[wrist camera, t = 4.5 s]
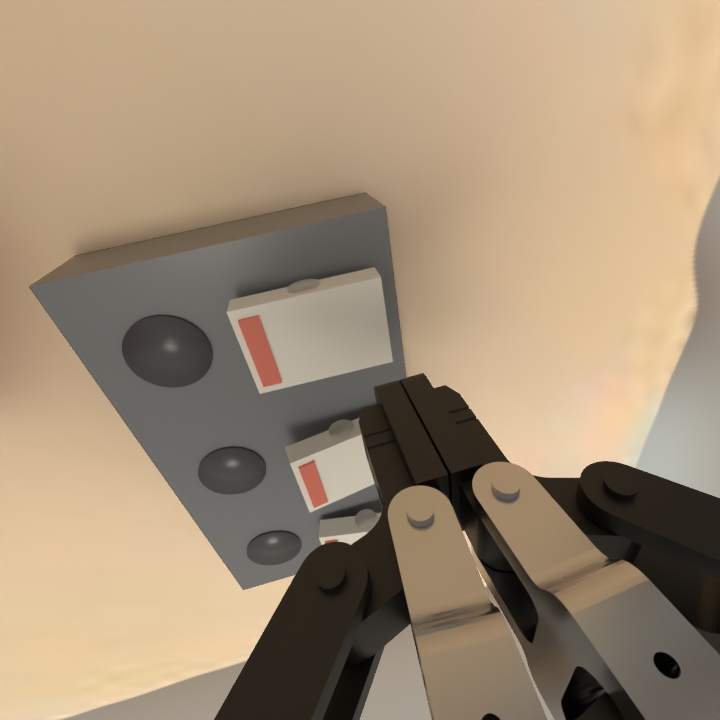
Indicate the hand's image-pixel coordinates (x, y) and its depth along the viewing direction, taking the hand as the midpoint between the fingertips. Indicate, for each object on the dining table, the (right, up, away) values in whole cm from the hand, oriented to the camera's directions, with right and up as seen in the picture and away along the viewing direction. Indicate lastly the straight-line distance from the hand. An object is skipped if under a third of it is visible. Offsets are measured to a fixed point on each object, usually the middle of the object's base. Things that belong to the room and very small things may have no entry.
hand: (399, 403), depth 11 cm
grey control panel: (-6, -2, +13) cm, 15 cm away
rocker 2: (-2, -4, +9) cm, 10 cm away
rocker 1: (-3, +3, +5) cm, 6 cm away
